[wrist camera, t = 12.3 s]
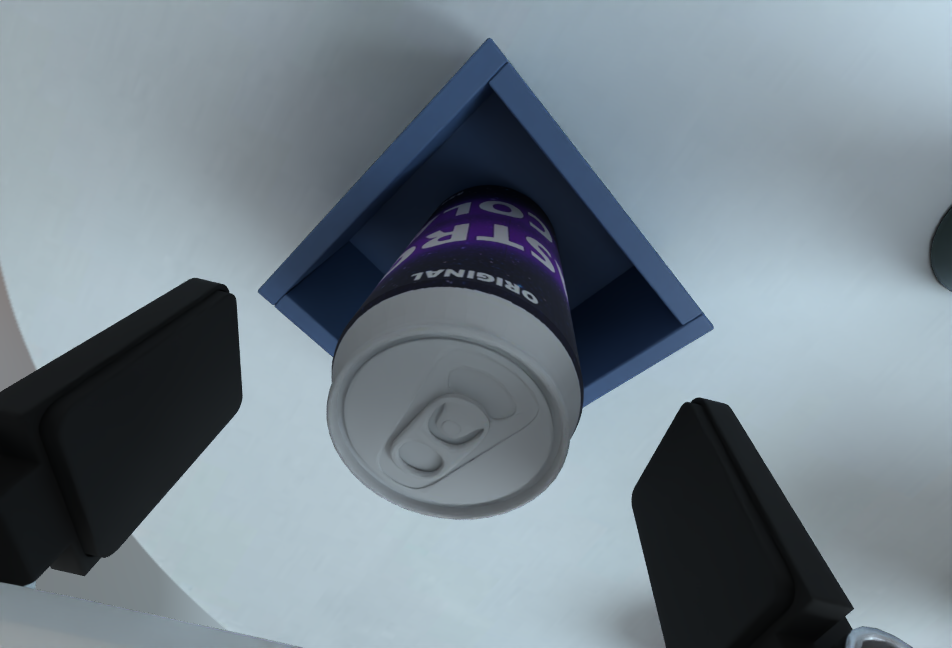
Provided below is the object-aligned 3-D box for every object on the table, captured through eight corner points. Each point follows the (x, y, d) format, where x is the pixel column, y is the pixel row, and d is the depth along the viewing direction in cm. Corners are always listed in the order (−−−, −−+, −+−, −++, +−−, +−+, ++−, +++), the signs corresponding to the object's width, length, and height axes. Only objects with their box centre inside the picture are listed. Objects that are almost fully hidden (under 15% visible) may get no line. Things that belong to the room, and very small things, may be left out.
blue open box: (333, 234, 21) (256, 291, 15) (503, 55, 17) (489, 35, 11) (484, 380, 23) (469, 476, 18) (659, 257, 19) (715, 328, 14)
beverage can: (584, 239, 19) (656, 432, 8) (499, 328, 21) (470, 565, 11) (480, 150, 18) (406, 241, 7) (402, 255, 20) (260, 440, 9)
